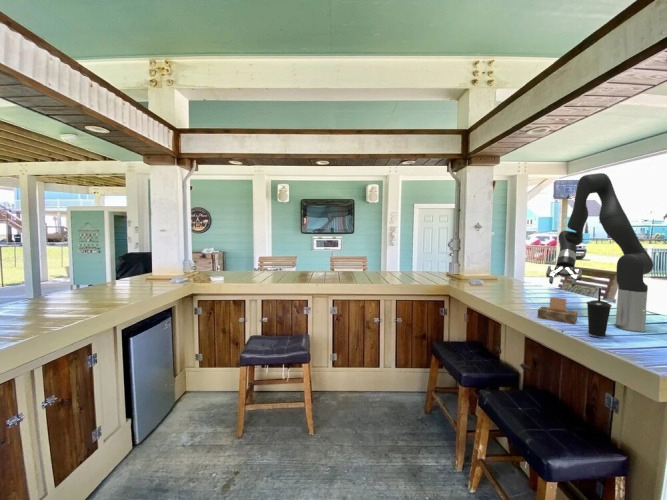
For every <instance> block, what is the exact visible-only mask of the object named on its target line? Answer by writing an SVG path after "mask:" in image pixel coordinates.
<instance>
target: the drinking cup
mask: <svg viewBox="0 0 667 500" xmlns="http://www.w3.org/2000/svg"><path fill="white" fill-rule="evenodd" d="M597 296H598V297H597V300H596V299H595V300H594V299H593V300H589V301H586V304H587V306H586V307H587V322H588V323H587V325H588V326H587V327H588V334H589V337H591V338H594V339H598V340H604V339H605V338H604V337H605V336H606V333H607V327H608V322H609V317H610V312H611V308H612V306H613V305H612V304H611V303H608V302H607V301H605V300H601V296H602V287H598V295H597Z"/></svg>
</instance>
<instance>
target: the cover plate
mask: <svg viewBox="0 0 667 500" xmlns="http://www.w3.org/2000/svg"><path fill="white" fill-rule="evenodd" d="M549 307H550V310H553V311H559V312H566V310H567V309H566V308H567V298H561V297H553V296H551V297H549Z"/></svg>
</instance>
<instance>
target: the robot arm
mask: <svg viewBox="0 0 667 500" xmlns="http://www.w3.org/2000/svg"><path fill="white" fill-rule="evenodd" d="M575 190H576V191H575V195H574V196H575V198H574V201H573V202H574V203H573V208H572V211H571V214H570V216H569V219H568V222H567V225H566V226H567V228H568V229H569V230H562V231H560V233H559V234H558V236H557V237H558V243H559V247H560V248H559V252H558V256H557V259H556V265H555V267H552V266H551V265H549V266H547V269H546V273H545V276H546V278H549V279H548V283H549V284H550V285H553V283H554V279H555V278H557V277H569V278H570V279H571V287H576V285H577V281H582V277H583V276H582V275H583V271H582V268H581V267H579V268H577V269H575V266H576V265H575V264H576V260H577V251H578V250H577V249H578V248H577V246H579V245H581V244H582V243H583V239H584V237H583V236H584V235H583V234H584V233H583V232H584V228H585V225H586V223H587V220H588V218H589V210H588V205H587V199H588V198H589V197H590V196H589V195H590V194H595V193H596V194H597V196H598V197H599V200H600V204H601V205H600V206H601V207H600V210H599V216H598V218H599V219H598V220H599V223H600V224H601V226H602V229H603V230H604V232H605V233H606V235H607V236H608V237H610V239H611V240H612V241H614V243H616V244H617V245H618V247H619V249H620V250H621V251H622V253H623V255H621V256H620V257H619V259H618V260H617V262H616V277H615V278H616V284H617V285H618V286H617V297H616V298H617V299H616V300H617V301H616V310H615V311H616V313H615V324H614V325H615V327H617V328H618V329H622V330H625V331H631V332H642V333H645V331H646V323H647V322H646V319H647V301H648V287H649V286H648V285H647V284H646V283H645V282H644V275H648V274H649V273H651V272H652V270H653V269H654V262H653V260H652V258H651V255H649V253H648V252H647V250H646V249H645V248H644V246H643V244H642V243H641V242H640V240H639V238H638V236H637V234H636V232H635V230H634V228H633V226H632V224H631V222H630V219H629V218H628V216H627V214H626V213H625V210H624V209H623V207H622V205H621V203H620V201H619V198H618V197H617V194H616V191H615V188H614V186H613V183H612V181H611V178H610V177H609V176H608V175H607V174H605V173H600V172H599V173H598V172H597V173H591V174H584V175H583V176H581V177H580V178H579V180H578V183H577V185H576V189H575ZM570 230H571V231H570ZM575 273H576V274H577V275H575Z"/></svg>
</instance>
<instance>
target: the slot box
mask: <svg viewBox="0 0 667 500" xmlns="http://www.w3.org/2000/svg"><path fill="white" fill-rule="evenodd" d="M537 319H541V320H547V321H552V322H559V323H564V324H570V325H576V322H577V321H578V311H576V310H575V311H574V310H570V309H568V310H567V309H566V312H559V311H553V310H550V306H549V307H548V306H543V305H542V306H540V307H539V308H538V309H537Z"/></svg>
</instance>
